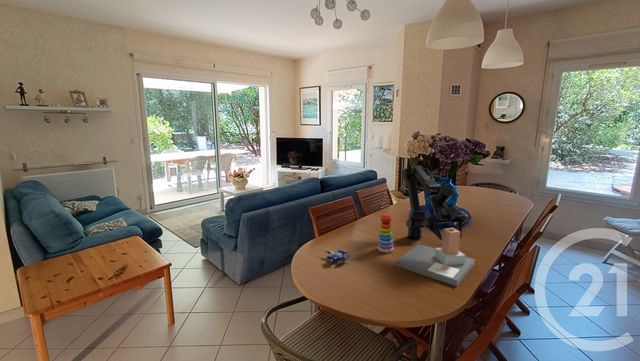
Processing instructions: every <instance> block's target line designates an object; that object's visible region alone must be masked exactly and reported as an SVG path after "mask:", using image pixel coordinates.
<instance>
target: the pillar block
mask: <svg viewBox="0 0 640 361" xmlns="http://www.w3.org/2000/svg"><path fill="white" fill-rule="evenodd" d="M460 240H461V239H460V231H458V230H456V229H455V228H454V227H449V228H448V227H446V228H445V227H444V228H443V229H442V241H441V248H442V250H443V251H444V252H445V253H447V254H458V253H459V251H460Z"/></svg>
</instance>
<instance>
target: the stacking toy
mask: <svg viewBox="0 0 640 361" xmlns="http://www.w3.org/2000/svg"><path fill="white" fill-rule="evenodd" d="M380 221H381V223H380V228H379V230H380V231H379V235H378V237H379V238H378V242H377V248H376V249H377V250H378V251H379V252H382V253H387V254H388V253H392V252H393V251H394V249H395V248H394V243H393V242H394V240H393V232H392V227H391V226H392V224H391V221H392V216H391V215H390V214H389V213H383V214H381V215H380Z"/></svg>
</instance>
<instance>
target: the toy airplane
mask: <svg viewBox="0 0 640 361" xmlns="http://www.w3.org/2000/svg"><path fill="white" fill-rule="evenodd" d="M322 251H323V252H325V253H327V254H328V256H327V255H326V259H327V261H328V262H337V261H338V262H337V264H338V265H340V264H341V262H342V263H343V262H345V261H348V259H349V258H350V257H351V255H349V254H348V253H349V251H347V250H337V252H334V251H332V250H323V249H322Z"/></svg>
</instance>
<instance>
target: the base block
mask: <svg viewBox="0 0 640 361" xmlns="http://www.w3.org/2000/svg"><path fill="white" fill-rule="evenodd" d="M434 248H435V257H436V258H437V259H438V260H440V261H441V262H442V263H443V264H444V265H457V264H465V257H466V254H465V253H463V252H462V251H460V250H459V253H458V254H447V253H445V252H444V251H443V250H442V247H434Z"/></svg>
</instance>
